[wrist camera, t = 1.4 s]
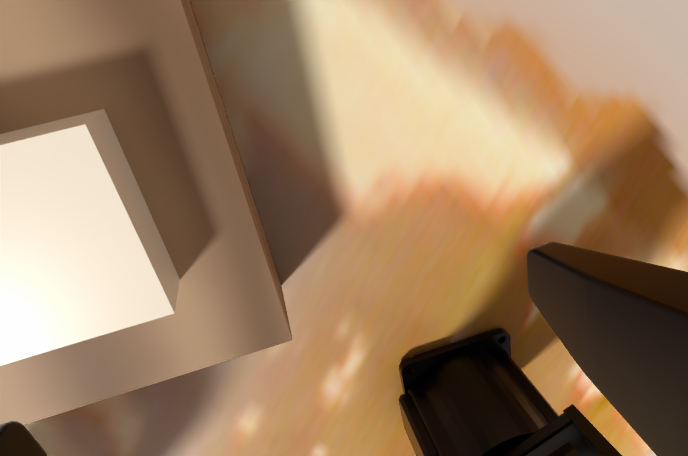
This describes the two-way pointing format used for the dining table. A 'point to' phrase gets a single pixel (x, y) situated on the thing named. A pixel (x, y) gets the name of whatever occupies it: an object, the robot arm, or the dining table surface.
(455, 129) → the dining table surface
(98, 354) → the brown wooden block
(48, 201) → the thick cream rectangular block
